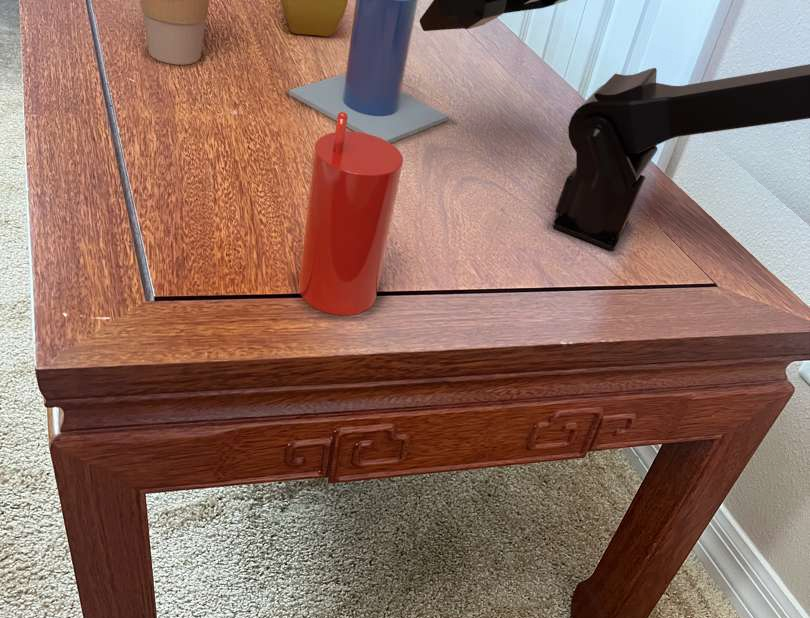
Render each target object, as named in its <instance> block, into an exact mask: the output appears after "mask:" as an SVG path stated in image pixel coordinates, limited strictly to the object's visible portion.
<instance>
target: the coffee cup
mask: <svg viewBox="0 0 810 618" xmlns="http://www.w3.org/2000/svg"><path fill="white" fill-rule="evenodd" d="M139 1H140V9H141V11H142V13H143V20H144V29H145V37H146V43H147V44H146V45H147V51H148V54H149V56H150V57H151V58H153V59H154V60H157V61H159V62H162V63H165V64H170V65H175V66H176V65H177V66H185V65H192V64H194V63H196V62H199V60H200V59H201V57H202V52H203V43H204V37H205V36H204V35H205V28H206V27H205V26H206V21H207V20H206V19H207V17H208V14H209V4H210V0H139Z"/></svg>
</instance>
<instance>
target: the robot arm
mask: <svg viewBox="0 0 810 618" xmlns="http://www.w3.org/2000/svg"><path fill="white" fill-rule="evenodd" d="M567 1H568V0H433V1H432V2H431V3H430V5H429V6H428V7H427V9H426V10H425V11H424V13H423V14H422V15H421V17H420V19H419V25H420V27H421V29H422V31H423V32H433V31H434V32H435V31H446V30H470V29H474V28H478V27H481V26H484V25H486V24H487V23H490V22H492V21H493V20H495V19H497V18H499V17H500V16H502V15H503V14H508V13H509V14H510V13H517V12H523V11H524V12H525V11H531V10H538V9H545V8H548V7H551V6H555V5H558V4H561V3H565V2H567ZM657 72H658V69H657V68H656V67H652V68H649V69H645V70H643V71H640V72H637V73H634V74H625V75H624V74H620V73H613V75H612V76H611V77H610V78H609V79H608V80H607V81H606V82H605V83H604V84H603V85H602V84H601V86H600V87H598V88H597V89H596V90H595V91H594V92H593V93H592V94H591V95H590V96H589V97H587V99H586V100H585V101H584V102H582V104H580V106H579V107H578V108H577V109H576V110H575V112H574V113H573V114H572V116H571V117H570V120H569V123H568V124H569V125H568V127H567V128H568V139H569V142H570V145H571V147H572V148H573V150H574V151H575V158H576V159H575V160H576V163H575V164H576V167H574V168H572V170H571V171H570V173H569V174H568V175H567V177H566V179H565V180H564V181H565V182H564V184H563V187H562V190H561V192H560V195H559V199H558V200H557V201H558V202H557V204H556V207H555V210H554V211H555V214H557V217H556V218H555V219H554V220H553V223H552V227H553V228H555V229H557V230H559V231H562V232H564V233H567V234H569V235H571V236H574V237H576V238H579V239H582V240H584V241H587V242H589V243H592V244H594V245H597V246H599V247H601V248H604V249H607V250H609V251H614V250H615V249H616V248H617V245H618V244H619V242H620V240H621V239H622V236H623V235H624V233H625V231H626V229H627V227H628V225H629V223H630V221H629V218H630V216H631V213H632V211H633V209H634V206H635V204H636V201H637V199H638V197H639V195H640V193H641V189H642V187H643V184H644V182H645V180H646V176H645V175H643V172H644V171H645V169H646V168H647V167H648V165H649V164H650V162H651V161H652V159H653V158H654V157H655V155H656V154H657V152H658V145H660V144H662V143H664V142H667V141H669V140H671V139H674V138H680V137H685V136H692V135H693V136H694V135H701V134H708V133H714V132H721V131H728V130H737V129H744V128H752V127H758V126H765V125H773V124H779V123H781V124H782V123H787V122H795V121H802V120H810V63H809V64H803V65H797V66H791V67H784V68H779V69H773V70H767V71H761V72H760V71H759V72H755V73H754V72H753V73H749V74H743V75H737V76H731V77H725V78H720V79H714V80H708V81H702V82H695V83H690V84H685V85H671V84H665V83H659V82H657Z"/></svg>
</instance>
